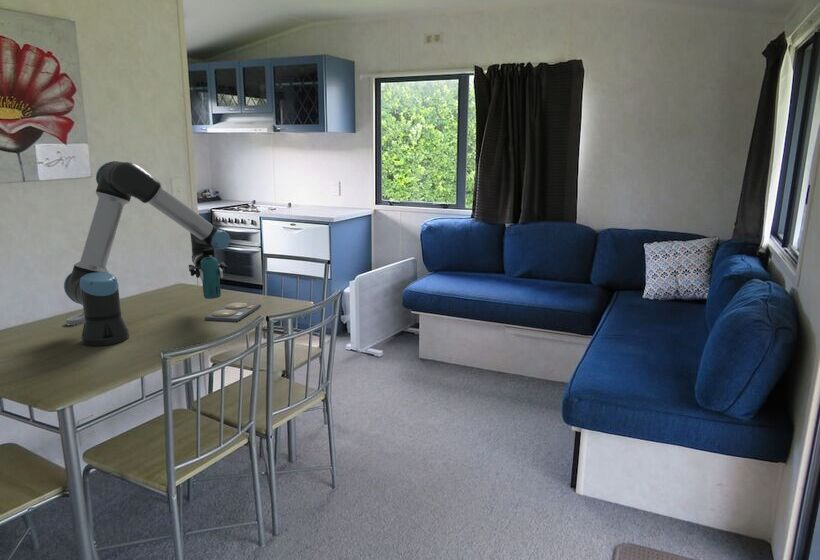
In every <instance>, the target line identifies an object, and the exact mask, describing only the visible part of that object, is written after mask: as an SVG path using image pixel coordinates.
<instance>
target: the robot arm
mask: <svg viewBox="0 0 820 560" xmlns="http://www.w3.org/2000/svg"><path fill="white" fill-rule="evenodd" d="M95 181H96V184H97V185H96V190H95V194H96V196H97V197H98V200H97V204H96V206H95V209H94V213H93V217H92V221H91V223H90V226H89V230H88V233H87V236H86V237H87V238H86V241H85V244H84V248H83V251H82V254H81V257H80V260H79V261H77V262H76V263H75V264H74V265H73V268H72V270H71V272H70V274H68V275H67V276H66V278H65V279H64V284H63V288H64V293H65V295H66V296H67V297H68V299H70V300H71V301H73V302H74V303H75V304H79V305H81V306H82V308H83V312H84V317H85V323H83V328H82V333H81V343H82V344H83V345H84V346H88V347H102V346H110V345H115V344H118V343H122V342H124V341H125V340H128V339H129V338H130V330H129V329H128V327H127V325H126V323H125V321H124V318H123V317H122V312H121V311H122V309H121V308H122V307H121V300H120V291H119V282H118V278H117V277H116V276H115V275H114V274H113V273H110V272H109V271H108V268H107V264H108V260H109V258H110V254H111V250H112V247H113V243H114V240H115V236H116V233H117V229H118V226H119V223H120V220H121V216H122V213H123V209H124V206H125V205H126V204H127V205H128V204H129V203H130V202H131V198H135V199H137V200H138V201H140V202H142V204H149V205H151V206H152V207H153V208H155V209H156V210H158V211H159V212H161V213H162V214H163V215H165V216H166V217H168V218H169V219H171V220H172V221H173V222H175V223H176V224H178V225H179V226H181V228H183V229H185V230H186V231H188V232H189V233H190V235H189V236H190V242H191V253H192V254H191V260H192V263H193V264H188V271H189V272H190V276H191V277H194V276H195V278H200V280H201V281H202V280H203V272H202V270H201V262H200V261H201V260H202V259H203V258H206V257H213V255H208V256H205V255H203V249H213V250H214V249H215V250H224V249H226V248H228V246H229V245H230V242H231V237H230V235H229V233H228V232H227V231H225V230H221V229H218V228H217V227H216V226H215V225H213V224H212V223H210V222H209V221H208V220H207V219H206V218H204V217H203V216H201V215H200V214H198V212H196V211H195V210H193V209H192V208H190V207H189V206H188V205H186V204H185V203H184V202H183V201H181V200H180V199H179V198H178V197H176V196H174V195H173V194H172V193H170V192H169V191H168V190H167V189H165V188H164V187H163V186H162V182H161V181H159V180H158V179H156V177H154V176H153V175H152V174H150V173H149V171H146V170H145V169H143V168H142V167H141V166H140V165H137V164H136V163H134V162H128V161H115V160H113V161H109V162H105V163H103V164H102V165H100V166H99V168H98V169H97V171H96V174H95ZM218 270H219V278H224V275H225V274H228V273H229V268H228V265H227V264H226V263H225V262H224V261H222V262H218Z"/></svg>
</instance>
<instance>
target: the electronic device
mask: <svg viewBox="0 0 820 560" xmlns="http://www.w3.org/2000/svg"><path fill="white" fill-rule="evenodd" d="M65 322H66V325H67V324H70V325H74V324H79V323H82V322H85V317H84V311H82V312H80V313H78V314H75V315H72V316H70V317H67V319H66V320H65ZM82 324H83V323H82ZM79 325H80V324H79ZM74 326H75V325H74Z"/></svg>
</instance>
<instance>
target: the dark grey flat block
mask: <svg viewBox="0 0 820 560" xmlns="http://www.w3.org/2000/svg"><path fill="white" fill-rule="evenodd" d="M261 307H262V304H261V303H250V302H249V303H246V302H229V303H227V304H225V305H223V306H221V307H220V308H218V309H217V310H215V311H213V312H211V313H209V314H207V315H206V316H204V321H216V320H221V322H236V321H238V322H240V321H241V320H242V318H243V319H244V318H245V316H246V317H247V316H249V315H251V314H252V313H253V311H254V312H255V311H257V310H258V309H260V308H261ZM256 309H257V310H256ZM251 312H252V313H251ZM248 314H249V315H248ZM239 320H240V321H239Z"/></svg>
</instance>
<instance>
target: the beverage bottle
mask: <svg viewBox="0 0 820 560" xmlns="http://www.w3.org/2000/svg"><path fill="white" fill-rule="evenodd" d="M203 255H205V256H208V255H211V256H212V257H206V258H203V259H202V260H201V261H200V262H201V270H202V272H203V280H201V282H202V283H201V284H202V289H203V290H202V293H203V297H204V299H206V300H207V299H214V300H215V299H219V298H221V295H222V290H221V288H222V287H221V284H220V283H221V280H220V275H219V270H218V264H219V262H218V261H219V260H218V259H217V258H216V257H214V256H213V255H215V252H214V248H211V249H203Z"/></svg>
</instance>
